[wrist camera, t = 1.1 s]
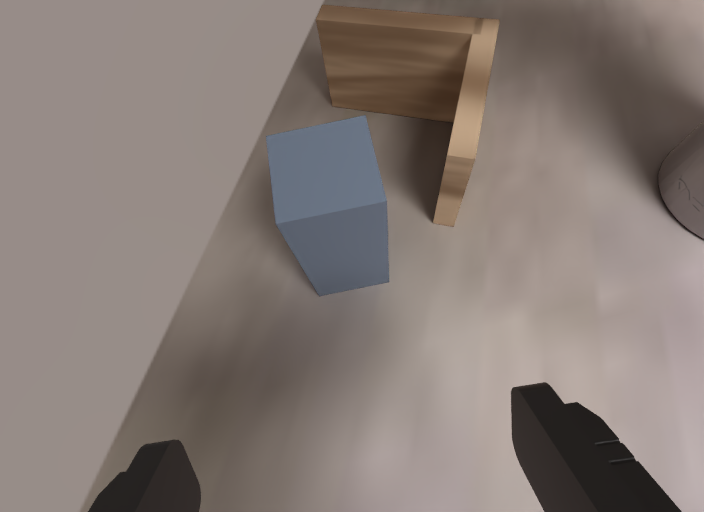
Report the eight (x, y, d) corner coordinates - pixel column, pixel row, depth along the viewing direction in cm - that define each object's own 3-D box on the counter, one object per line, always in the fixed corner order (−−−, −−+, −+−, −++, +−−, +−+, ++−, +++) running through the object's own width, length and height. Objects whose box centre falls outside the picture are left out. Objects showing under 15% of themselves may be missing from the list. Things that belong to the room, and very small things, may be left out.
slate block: (374, 220, 29) (365, 115, 19) (388, 282, 27) (386, 201, 17) (309, 233, 29) (266, 135, 19) (319, 296, 27) (275, 224, 17)
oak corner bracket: (453, 226, 28) (475, 159, 21) (299, 198, 30) (269, 128, 23) (475, 111, 32) (499, 19, 25) (337, 93, 34) (322, 4, 27)
